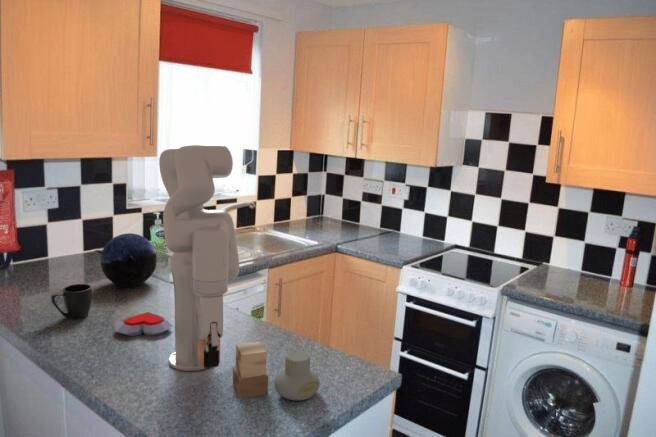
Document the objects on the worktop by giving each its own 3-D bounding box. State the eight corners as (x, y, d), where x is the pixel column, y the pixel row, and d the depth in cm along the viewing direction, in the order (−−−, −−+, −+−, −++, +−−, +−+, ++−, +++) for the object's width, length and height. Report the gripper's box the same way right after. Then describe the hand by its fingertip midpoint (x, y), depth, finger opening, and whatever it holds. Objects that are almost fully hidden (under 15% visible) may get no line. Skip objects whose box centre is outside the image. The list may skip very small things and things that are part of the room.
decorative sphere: (130, 274, 215) (129, 226, 211) (168, 283, 206) (167, 233, 203) (89, 287, 197) (87, 235, 193) (129, 297, 189) (127, 243, 185)
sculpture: (121, 320, 169) (110, 340, 154) (121, 309, 168) (109, 328, 154) (176, 319, 172) (170, 338, 157) (176, 308, 171) (169, 327, 156)
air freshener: (302, 380, 136) (304, 344, 134) (324, 394, 130) (326, 356, 128) (268, 394, 128) (269, 356, 126) (289, 409, 122) (291, 369, 120)
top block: (235, 367, 131) (235, 344, 130) (259, 363, 133) (259, 341, 132) (241, 378, 125) (241, 354, 124) (265, 374, 128) (266, 351, 127)
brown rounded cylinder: (196, 357, 120) (196, 337, 119) (218, 355, 122) (218, 335, 121) (199, 368, 116) (199, 347, 114) (221, 365, 117) (221, 345, 116)
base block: (232, 385, 132) (233, 366, 131) (260, 381, 135) (260, 362, 134) (239, 399, 126) (239, 379, 125) (267, 394, 128) (268, 375, 127)
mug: (47, 318, 167) (45, 289, 165) (86, 309, 176) (84, 282, 174) (57, 326, 162) (56, 296, 160) (97, 316, 170) (95, 288, 169)
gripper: (187, 272, 121) (186, 345, 125) (198, 300, 105) (197, 382, 110) (220, 269, 123) (218, 341, 128) (235, 297, 108) (233, 377, 112)
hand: (209, 359), depth 119 cm, fingers closed on brown rounded cylinder, 4 cm apart
